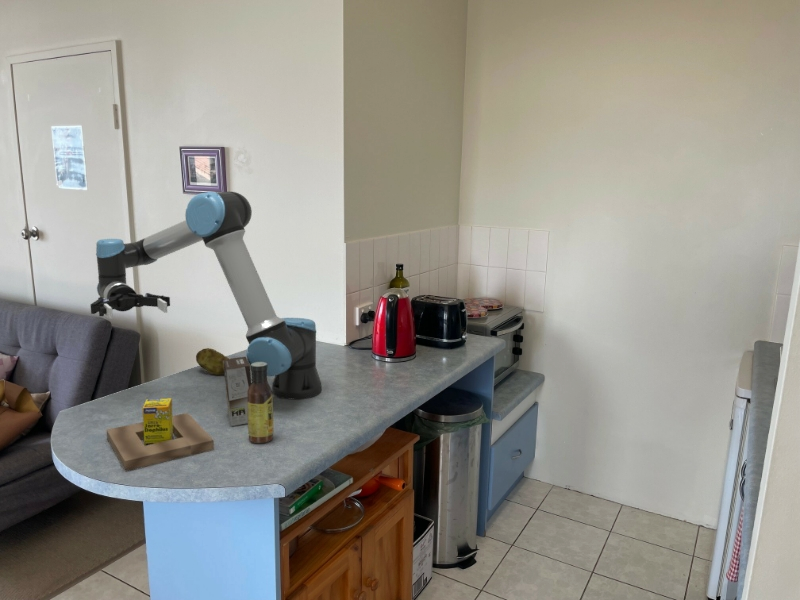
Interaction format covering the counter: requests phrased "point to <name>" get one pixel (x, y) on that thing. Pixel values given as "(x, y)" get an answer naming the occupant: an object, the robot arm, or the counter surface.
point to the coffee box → (237, 389)
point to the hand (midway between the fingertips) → (139, 310)
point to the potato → (211, 361)
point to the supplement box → (157, 421)
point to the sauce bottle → (260, 405)
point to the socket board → (137, 455)
